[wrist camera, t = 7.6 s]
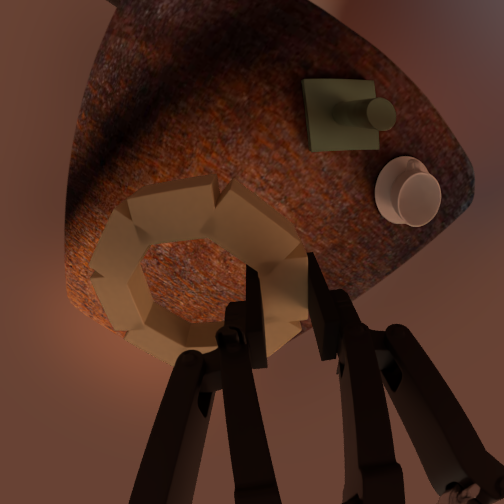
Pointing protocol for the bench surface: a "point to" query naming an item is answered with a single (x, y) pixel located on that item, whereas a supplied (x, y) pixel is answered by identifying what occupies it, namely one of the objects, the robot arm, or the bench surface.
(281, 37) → the bench surface
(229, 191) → the ring of blocks
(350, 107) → the stand
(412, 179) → the teacup
